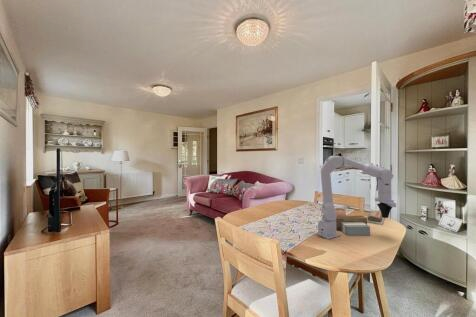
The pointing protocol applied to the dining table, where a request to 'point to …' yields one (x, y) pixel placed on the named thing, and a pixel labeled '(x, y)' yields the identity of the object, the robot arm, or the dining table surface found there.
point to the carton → (355, 228)
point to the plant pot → (340, 211)
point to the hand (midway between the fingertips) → (385, 217)
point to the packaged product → (375, 217)
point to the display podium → (349, 220)
